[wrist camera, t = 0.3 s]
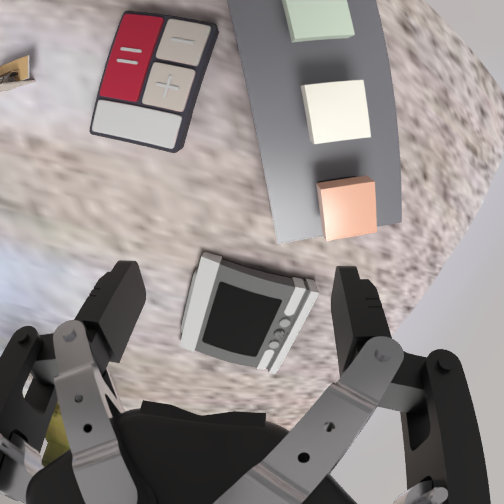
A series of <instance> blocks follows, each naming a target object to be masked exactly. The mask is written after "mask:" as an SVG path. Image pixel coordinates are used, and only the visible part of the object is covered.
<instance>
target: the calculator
mask: <svg viewBox="0 0 504 504" xmlns="http://www.w3.org/2000/svg"><path fill="white" fill-rule="evenodd" d="M218 34H219V31H218V28H217V26H216V25H215V24H213V23H208V22H203V21H198V20H193V19H187V18H181V17H175V16H168V15H161V14H154V13H145V12H135V11H125V12H124V13H123V15H122V18H121V20H120V23H119V26H118V29H117V31H116V34H115V37H114V40H113V43H112V46H111V49H110V52H109V56H108V59H107V62H106V66H105V69H104V73H103V76H102V80H101V83H100V87H99V91H98V95H97V99H96V103H95V107H94V112H93V116H92V121H91V126H90V133H91V134H92V135H97V136H102V137H107V138H111V139H116V140H121V141H125V142H129V143H134V144H138V145H142V146H147V147H151V148H155V149H159V150H163V151H167V152H171V153H176V152H178V151H179V150H181V149H182V148H183V146H184V143H185V139H186V136H187V132H188V128H189V125H190V121H191V118H192V113H193V109H194V106H195V103H196V99H197V96H198V93H199V90H200V87H201V84H202V81H203V78H204V75H205V72H206V69H207V66H208V63H209V60H210V57H211V54H212V51H213V48H214V45H215V42H216V40H217V37H218Z"/></svg>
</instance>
